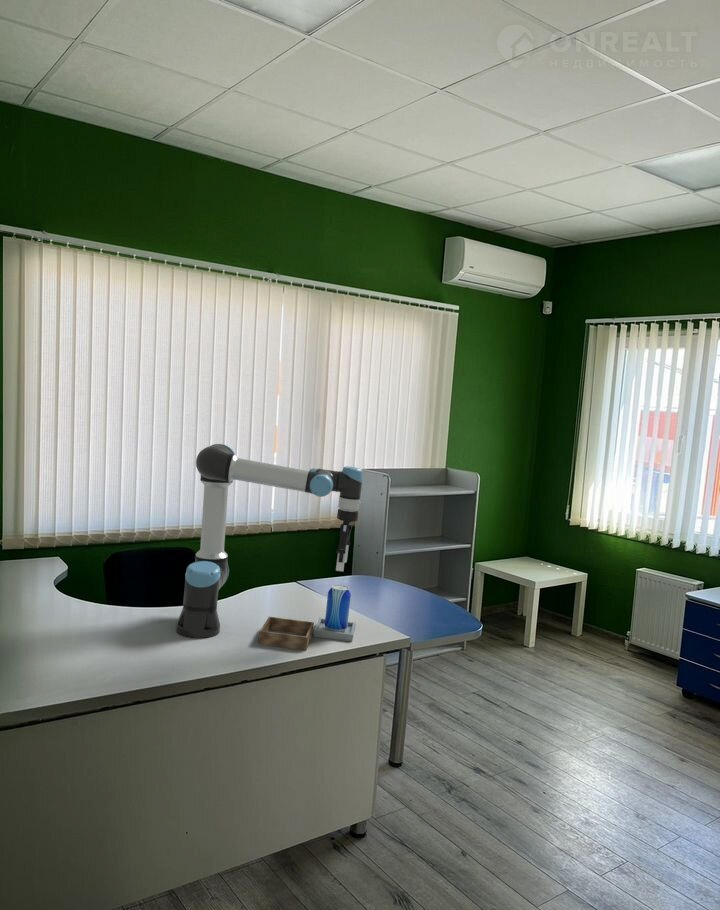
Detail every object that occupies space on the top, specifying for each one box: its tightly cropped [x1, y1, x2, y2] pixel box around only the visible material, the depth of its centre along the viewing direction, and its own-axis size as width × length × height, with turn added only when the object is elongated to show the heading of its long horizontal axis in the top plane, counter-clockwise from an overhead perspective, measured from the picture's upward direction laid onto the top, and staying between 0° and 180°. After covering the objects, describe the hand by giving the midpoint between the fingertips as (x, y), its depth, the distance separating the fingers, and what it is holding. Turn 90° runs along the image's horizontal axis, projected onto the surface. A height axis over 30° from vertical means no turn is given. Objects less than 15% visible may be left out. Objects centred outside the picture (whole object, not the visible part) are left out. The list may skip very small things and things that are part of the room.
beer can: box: [324, 584, 352, 632], centre depth 265 cm, size 8×8×16 cm
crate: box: [258, 616, 315, 651], centre depth 254 cm, size 17×17×4 cm
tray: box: [313, 617, 357, 643], centre depth 266 cm, size 14×14×2 cm
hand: (341, 566), depth 264 cm, fingers open, 13 cm apart
